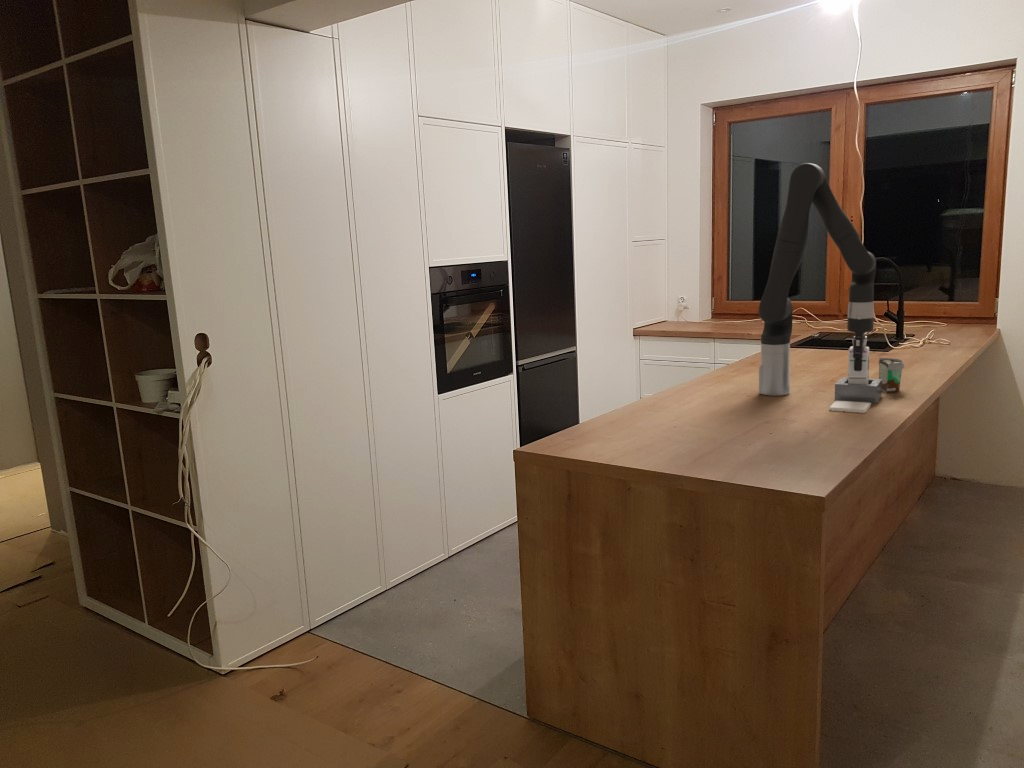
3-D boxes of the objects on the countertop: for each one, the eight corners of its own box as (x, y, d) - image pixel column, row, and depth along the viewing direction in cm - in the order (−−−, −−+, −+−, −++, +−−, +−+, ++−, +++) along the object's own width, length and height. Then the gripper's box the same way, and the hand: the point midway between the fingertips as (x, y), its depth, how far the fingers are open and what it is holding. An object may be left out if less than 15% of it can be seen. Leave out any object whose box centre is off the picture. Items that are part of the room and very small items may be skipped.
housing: (834, 401, 242) (835, 384, 241) (841, 393, 252) (842, 377, 251) (875, 403, 236) (876, 386, 235) (881, 395, 245) (882, 379, 244)
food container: (908, 394, 246) (909, 363, 244) (887, 394, 247) (888, 363, 245) (897, 386, 258) (898, 357, 256) (877, 386, 259) (878, 357, 257)
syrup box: (867, 394, 240) (869, 348, 237) (846, 393, 242) (848, 348, 240) (868, 390, 245) (870, 346, 242) (848, 389, 247) (849, 345, 245)
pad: (829, 410, 231) (829, 407, 230) (835, 403, 239) (835, 400, 239) (865, 413, 225) (865, 409, 225) (870, 405, 233) (870, 402, 233)
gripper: (849, 313, 247) (848, 364, 250) (845, 318, 234) (843, 372, 238) (875, 313, 243) (873, 365, 246) (872, 318, 231) (869, 373, 234)
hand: (858, 368), depth 242 cm, fingers closed on syrup box, 5 cm apart
